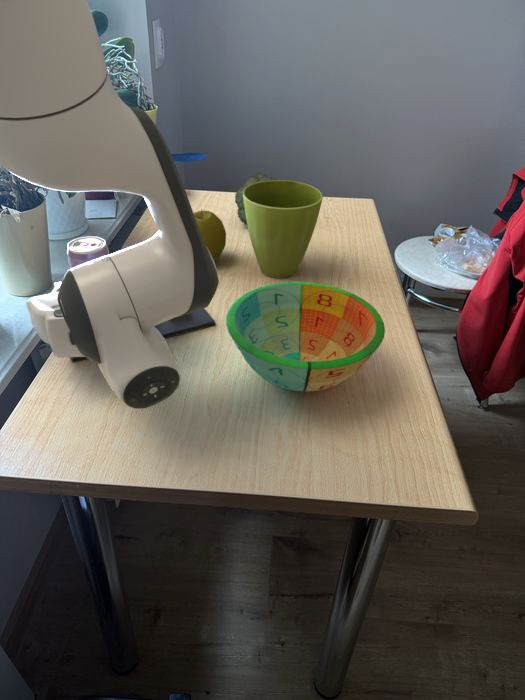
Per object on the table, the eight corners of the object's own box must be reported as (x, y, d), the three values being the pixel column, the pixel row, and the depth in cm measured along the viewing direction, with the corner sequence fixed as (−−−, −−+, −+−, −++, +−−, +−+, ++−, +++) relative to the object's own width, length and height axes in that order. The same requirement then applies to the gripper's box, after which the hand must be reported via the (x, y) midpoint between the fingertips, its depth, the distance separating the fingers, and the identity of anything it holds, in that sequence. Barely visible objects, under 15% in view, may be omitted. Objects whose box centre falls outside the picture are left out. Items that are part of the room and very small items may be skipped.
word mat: (72, 362, 81) (69, 351, 80) (56, 324, 90) (54, 313, 89) (215, 325, 91) (215, 314, 90) (189, 293, 99) (188, 283, 98)
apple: (189, 246, 116) (187, 197, 109) (232, 252, 114) (232, 203, 108) (172, 266, 108) (168, 215, 102) (217, 273, 106) (216, 221, 100)
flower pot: (323, 286, 103) (331, 206, 94) (247, 290, 101) (248, 209, 92) (306, 252, 115) (312, 179, 106) (238, 255, 113) (238, 180, 104)
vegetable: (284, 200, 135) (304, 192, 120) (256, 242, 134) (273, 239, 120) (246, 170, 131) (261, 158, 117) (217, 213, 131) (229, 206, 116)
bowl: (243, 325, 91) (243, 273, 85) (374, 341, 88) (384, 289, 82) (210, 412, 73) (208, 354, 67) (374, 436, 70) (386, 377, 64)
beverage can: (115, 339, 85) (101, 253, 76) (78, 337, 85) (60, 252, 76) (123, 319, 90) (111, 236, 81) (88, 317, 90) (72, 235, 81)
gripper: (184, 287, 75) (152, 249, 85) (33, 321, 67) (16, 274, 77) (187, 324, 79) (156, 284, 89) (43, 361, 71) (26, 311, 80)
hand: (90, 279), depth 83 cm, fingers open, 8 cm apart
